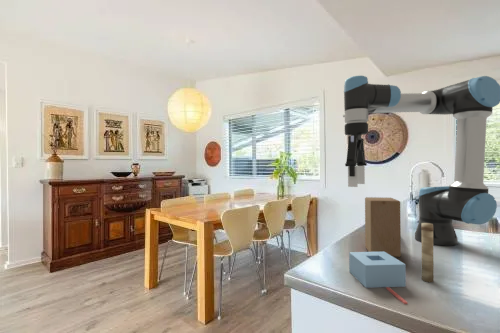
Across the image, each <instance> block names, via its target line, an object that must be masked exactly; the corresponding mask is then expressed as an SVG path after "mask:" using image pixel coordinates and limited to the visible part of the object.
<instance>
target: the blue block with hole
mask: <svg viewBox="0 0 500 333" xmlns="http://www.w3.org/2000/svg"><path fill="white" fill-rule="evenodd" d="M348 257H349V259H348V260H349V261H348V264H349V267H348V268H349V271H348V272H349V273H350V274H351V275H353V277H354V278H355V279H356V280H357V281H358V282H360V284H361V285H362V286H363V287H365V289H368V288H386V287H390V288H396V287H397V288H400V287H403V288H405V287H407V282H406V280H407V279H406V277H407V274H406V270H407V269H406V267H407V266H406V263H404V262H402V261H401V260H399V259H397V257H393V256H391V255H389V254H388V253H386V252H384V251H382V252H369V251H354V252H353V251H352V252H351V251H350V252H348Z"/></svg>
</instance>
